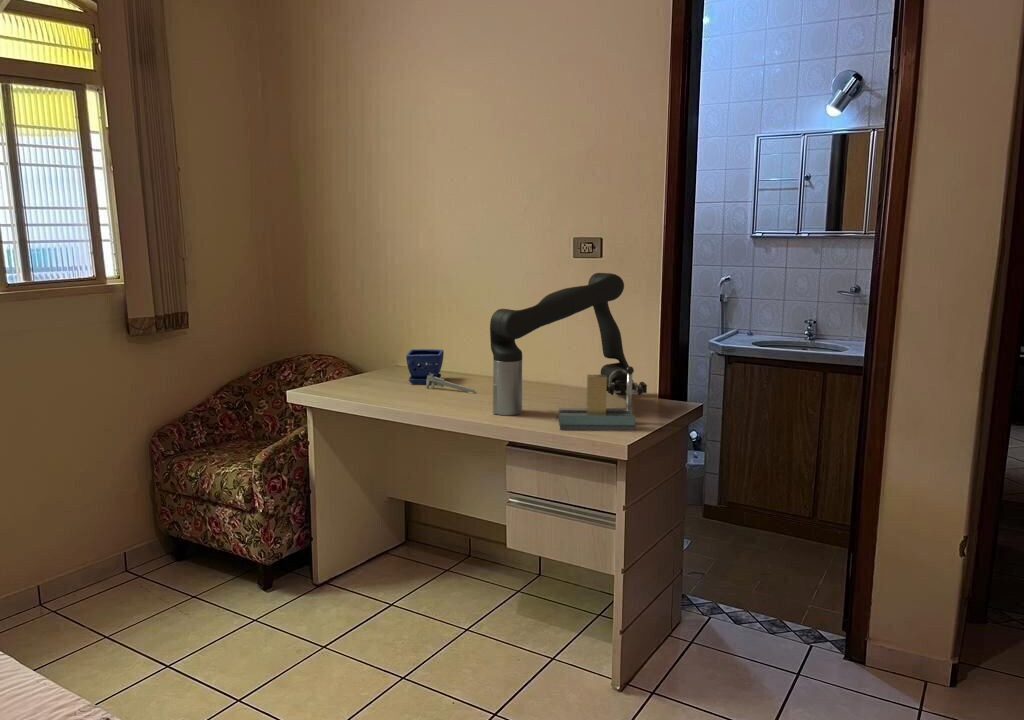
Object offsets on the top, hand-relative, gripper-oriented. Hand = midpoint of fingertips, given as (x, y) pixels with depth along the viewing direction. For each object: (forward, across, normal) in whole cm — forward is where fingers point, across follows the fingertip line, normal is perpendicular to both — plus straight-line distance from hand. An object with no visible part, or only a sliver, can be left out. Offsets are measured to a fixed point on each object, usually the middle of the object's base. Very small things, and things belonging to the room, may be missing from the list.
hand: (626, 391), depth 247 cm
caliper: (-38, -59, +8) cm, 71 cm away
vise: (+11, -10, +8) cm, 17 cm away
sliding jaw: (+8, -10, +7) cm, 14 cm away
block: (+12, -10, +7) cm, 17 cm away
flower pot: (-54, -71, +8) cm, 89 cm away
